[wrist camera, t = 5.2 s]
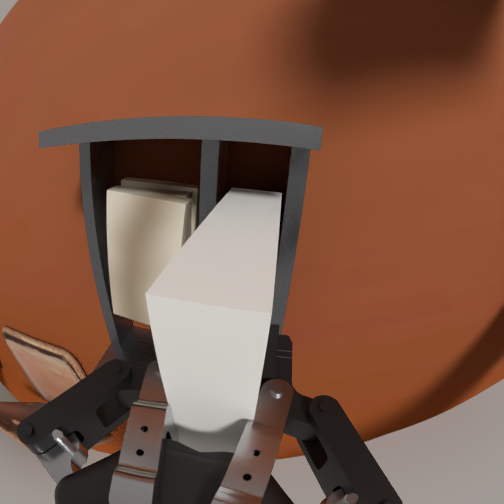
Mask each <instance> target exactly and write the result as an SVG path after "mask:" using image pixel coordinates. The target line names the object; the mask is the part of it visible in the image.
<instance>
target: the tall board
mask: <svg viewBox="0 0 504 504" xmlns="http://www.w3.org/2000/svg"><path fill="white" fill-rule="evenodd" d="M281 199H282V193H280V192H271V191H262V190H253V189H243V188H231V189H230V190H229V192H228V193H227V194H226V195H225V196H224V197H223V198H222V200H221V201H220V202H219V203H218V204H217V205H216V207H215V208H214V209H213V210H212V211H211V212H210V214H209V215H208V216H207V217H206V218H205V220H204V221H203V222H202V223H201V224H200V226H199V227H198V228H197V229H196V230H195V232H194V233H193V234H192V235H191V236H190V238H189V239H188V240H187V241H186V243H185V244H184V245H183V246H182V248H181V249H180V250H179V251H178V252H177V254H176V255H175V256H174V258H173V259H172V260H171V261H170V263H169V264H168V265H167V266H166V268H165V269H164V270H163V271H162V273H161V274H160V275H159V277H158V278H157V279H156V280H155V282H154V283H153V284H152V286H151V287H150V288H149V290H148V291H147V292H146V294H145V295H146V301H147V308H148V314H149V320H150V325H151V331H152V336H153V341H154V346H155V351H156V356H157V361H158V365H159V370H160V374H161V378H162V382H163V386H164V390H165V394H166V398H167V402H168V404H170V405H171V409H172V419H173V422H174V426H175V428H176V429H177V430H178V433H179V442H180V443H182V444H184V445H186V446H188V447H190V448H192V449H194V450H196V451H199V452H231V453H235V451H236V448H237V446H238V443H239V441H240V438H241V436H242V434H243V431H244V429H245V426H246V424H247V422H249V420H253V421H254V416H255V411H256V406H257V400H258V394H259V389H260V383H261V377H262V371H263V365H264V359H265V353H266V347H267V341H268V335H269V329H270V322H271V316H272V307H273V296H274V285H275V274H276V263H277V251H278V239H279V226H280V213H281Z"/></svg>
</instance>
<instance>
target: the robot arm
mask: <svg viewBox="0 0 504 504" xmlns="http://www.w3.org/2000/svg"><path fill="white" fill-rule="evenodd" d="M128 418H129V419H128ZM126 419H128V423H127V427H126V431H125V435H124V440H123V444H122V448H121V450H119V451H117V452H115V453H114V454H112V455H110V456H108V457H106V458H104V459H102V460H99V461H98V462H96V463H93V464H91V465H89V466H87V467H85V468H83V469H81V467H82V465H83V464H85V463H86V462H87V458H88V450H89V449H90V448H91V447H93V446H94V445H95V444H97V443H98V442H99V441H100V440H102V439H103V438H104V437H105V436H107V435H108V434H109V433H110V432H112V431H113V430H114V429H115V428H117V427H118V426H119V425H120V424H122V423H123V422H124V421H125V420H126ZM283 433H285V434H287V435H290V436H293V437H295V438H297V441H298V443H299V445H300V447H301V449H302V451H303V453H304V455H305V457H306V459H307V461H308V463H309V465H310V467H311V469H312V470H313V472H314V474H315V476H316V478H317V480H318V482H319V484H320V486H321V488H322V490H323V492H324V493H325V495H326V498H325V499H324V500H323V501H322V502H321V503H320V504H402V501H401V499H400V498H399V496H398V494H397V493H396V491H395V490H394V488H393V487H392V485H391V484H390V482H389V481H388V479H387V477H386V476H385V474H384V473H383V471H382V470H381V468H380V467H379V465H378V464H377V462H376V460H375V459H374V457H373V456H372V454H371V453H370V451H369V450H368V448H367V446H366V445H365V443H364V442H363V440H362V439H361V437H360V436H359V434H358V432H357V431H356V429H355V428H354V426H353V425H352V423H351V421H350V420H349V418H348V417H347V415H346V414H345V412H344V411H343V409H342V407H341V406H340V404H339V403H338V401H337V400H336V399H334V398H332V397H330V396H326V395H321V396H317V397H315V398H313V399H312V398H309V397H306V396H303V395H301V394H299V393H298V392H297V391H296V390H295V389H294V388H293V385H292V342H291V340H290V338H289V336H287V335H279V325H278V324H270V329H269V335H268V341H267V347H266V353H265V359H264V365H263V371H262V377H261V383H260V389H259V394H258V400H257V406H256V411H255V416H254V421H253V420H249V422H247V424H246V426H245V429H244V431H243V434H242V436H241V438H240V441H239V443H238V446H237V448H236V451H235V453H231V452H199V451H196V450H194V449H192V448H190V447H188V446H186V445H184V444H182V443H180V442H179V433H178V430H177V429H176V428H175V426H174V422H173V419H172V409H171V405H170V404H168V402H167V398H166V394H165V390H164V386H163V382H162V378H161V374H160V370H159V365H158V361H157V360H155V361H153V362H151V363H150V364H149V365H148V367H145V368H130V367H129V365H128V363H127V362H125V361H123V360H120V359H114V360H110V361H108V362H107V363H105V364H104V365H102V366H101V367H100V368H98V369H97V370H95V371H94V372H92V373H91V374H89V375H88V376H87V377H85V378H84V379H82V380H81V381H79V382H78V383H76V384H75V385H73V386H72V387H71V388H69V389H68V390H66V391H65V392H63V393H62V394H60V395H59V396H57V397H56V398H54V399H53V400H52V401H50V402H49V403H47V404H46V405H44V406H43V407H41V408H40V409H38V410H37V411H35V412H34V413H32V414H31V415H30V416H28V417H27V418H25V419H24V420H22V421H21V422H20V423H19V425H18V427H17V436H18V438H19V440H20V441H21V442H22V443H23V444H24V445H25V446H26V447H28V449H29V450H30V451H31V452H32V453H34V455H36V456H37V457H38V459H39V460H40V462H41V463H42V465H43V466H44V467H45V469H46V470H47V472H48V473H49V474H50V476H51V477H52V478H53V480H54V481H55V482H56V484H57V486H56V489H55V504H294V503H293V502H292V501H291V499H290V498H289V497H288V496H287V494H286V493H285V492H284V490H283V489H282V488H281V487H280V485H279V484H278V483H277V481H276V480H275V479H274V477H273V476H272V475H271V472H272V469H273V466H274V463H275V459H276V456H277V453H278V450H279V446H280V443H281V440H282V436H283Z"/></svg>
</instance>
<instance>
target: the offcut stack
mask: <svg viewBox="0 0 504 504" xmlns="http://www.w3.org/2000/svg"><path fill="white" fill-rule="evenodd" d="M199 203H200V185H194V184H186V183H178V182H170V181H161V180H151V179H142V178H131V177H127V178H125V179H122V180H121V186H118V185H117V186H115V187H112V188H110V189H108V190H107V248H108V265H109V277H110V288H111V297H112V306H113V313H114V314H117V315H120V316H123V317H126V318H129V319H132V320H135V321H138V322H141V323H144V324H147V325H150V320H149V314H148V308H147V301H146V295H145V294H146V292H147V291H148V290H149V288H150V287H151V286H152V284H153V283H154V282H155V280H156V279H157V278H158V277H159V275H160V274H161V273H162V271H163V270H164V269H165V268H166V266H167V265H168V264H169V263H170V261H171V260H172V259H173V258H174V256H175V255H176V254H177V252H178V251H179V250H180V249H181V248H182V246H183V245H184V244H185V243H186V241H187V240H188V239H189V238H190V236H191V235H192V234H193V233H194V232H195V230H196V229H197V228H198V227H199ZM150 326H151V325H150Z"/></svg>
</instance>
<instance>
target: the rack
mask: <svg viewBox="0 0 504 504" xmlns="http://www.w3.org/2000/svg"><path fill="white" fill-rule="evenodd" d="M322 131H323V127H320V126H314V125H307V124H300V123H292V122H283V121H274V120H264V119H252V118H236V117H212V116H169V117H145V118H130V119H118V120H109V121H100V122H92V123H84V124H78V125H71V126H65V127H60V128H54V129H49V130H44V131H39V148H45V147H52V146H59V145H67V144H76V143H79V152H80V176H81V190H82V201H83V210H84V219H85V226H86V233H87V240H88V246H89V252H90V258H91V263H92V268H93V273H94V278H95V282H96V287H97V291H98V296H99V300H100V304H101V308H102V311H103V315H104V319H105V322H106V326H107V329H108V333H109V336H110V339H111V342H112V343H111V345H110V346H109V348H108V349H107V351H106V352H105V354H104V355H103V357H102V358H101V360H100V361H99V363H98V364H97V366H96V367H95V369H94V371H95V370H97V369H98V368H100V367H101V366H102V365H104V364H105V363H107V362H108V361H110V360H114V359H120V360H123V361H125V362H127V363H128V365H129V367H130V368H145V367H148V365H149V364H150V363H151V362H153V361H155V360H157V356H156V351H155V346H154V341H153V336H152V331H151V330H148V329H143V328H139V327H135V326H133V323H132V319H129V318H126V317H123V316H120V315H117V314H114V313H113V306H112V297H111V288H110V277H109V265H108V248H107V190H108V189H110V188H112V187H114V167H113V140H132V139H202V150H201V172H200V203H199V226H200V224H201V223H202V222H203V221H204V220H205V218H206V217H207V216H208V215H209V214H210V212H211V211H212V210H213V209H214V208H215V207H216V205H217V204H218V203H219V202H220V201H221V200H222V198H223V197H224V196H225V195H226V182H227V166H228V151H229V141H241V142H253V143H264V144H274V145H283V146H290V155H289V164H288V172H287V181H286V189H285V198H284V206H283V214H282V222H281V230H280V237H279V245H278V252H277V263H276V274H275V285H274V296H273V307H272V316H271V322H270V324H278V325H279V335H281V330H282V325H283V320H284V315H285V310H286V304H287V299H288V293H289V288H290V282H291V277H292V271H293V265H294V259H295V253H296V247H297V241H298V234H299V228H300V221H301V215H302V208H303V201H304V194H305V187H306V179H307V172H308V164H309V156H310V149H313V150H320V147H321V139H322ZM94 371H93V372H94Z"/></svg>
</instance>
